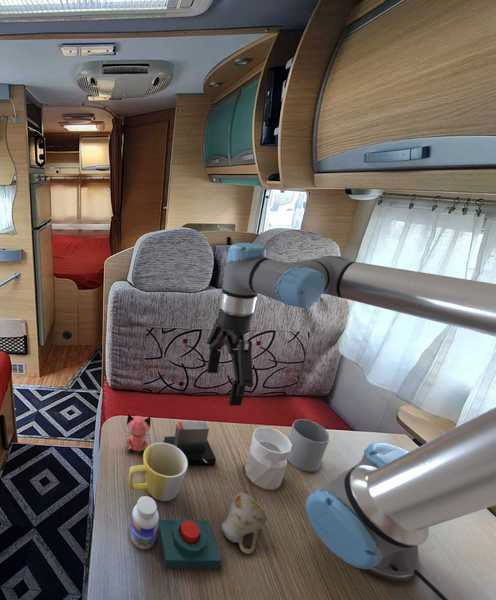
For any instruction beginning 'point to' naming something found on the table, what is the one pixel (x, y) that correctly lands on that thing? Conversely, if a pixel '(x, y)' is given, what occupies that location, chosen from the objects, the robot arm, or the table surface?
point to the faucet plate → (196, 455)
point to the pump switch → (188, 545)
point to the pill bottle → (144, 522)
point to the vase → (267, 457)
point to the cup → (307, 445)
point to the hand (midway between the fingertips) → (222, 387)
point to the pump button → (189, 532)
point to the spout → (191, 436)
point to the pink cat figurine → (137, 433)
